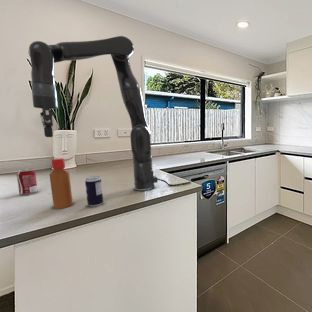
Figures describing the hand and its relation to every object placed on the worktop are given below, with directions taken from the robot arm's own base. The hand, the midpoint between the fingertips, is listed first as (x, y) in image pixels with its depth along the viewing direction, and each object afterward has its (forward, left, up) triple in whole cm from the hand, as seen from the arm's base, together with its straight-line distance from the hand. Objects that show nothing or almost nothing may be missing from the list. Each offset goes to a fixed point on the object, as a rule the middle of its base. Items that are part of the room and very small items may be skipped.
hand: (48, 136), depth 90 cm
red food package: (+16, -26, -29) cm, 43 cm away
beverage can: (-15, +8, -29) cm, 34 cm away
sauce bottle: (-3, +3, -29) cm, 29 cm away
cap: (-3, +3, -13) cm, 13 cm away
